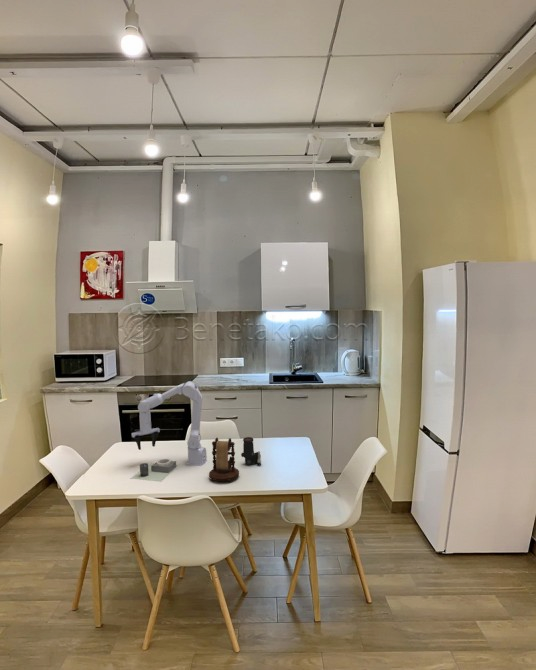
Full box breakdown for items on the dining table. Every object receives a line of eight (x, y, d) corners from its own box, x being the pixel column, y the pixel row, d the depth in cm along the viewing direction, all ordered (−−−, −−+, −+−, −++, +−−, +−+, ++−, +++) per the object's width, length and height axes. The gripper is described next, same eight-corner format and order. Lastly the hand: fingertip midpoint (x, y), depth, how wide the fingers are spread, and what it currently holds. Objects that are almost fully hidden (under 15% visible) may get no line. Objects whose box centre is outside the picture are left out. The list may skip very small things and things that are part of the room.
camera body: (176, 466, 218) (176, 459, 218) (169, 473, 210) (168, 465, 210) (159, 465, 221) (158, 457, 220) (151, 471, 213) (151, 463, 213)
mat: (179, 466, 220) (179, 465, 220) (161, 482, 201) (160, 481, 201) (151, 463, 224) (151, 463, 224) (130, 479, 205) (129, 478, 205)
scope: (260, 440, 217) (241, 441, 215) (261, 466, 218) (242, 467, 217) (258, 435, 225) (240, 436, 224) (259, 460, 226) (240, 461, 225)
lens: (150, 473, 210) (149, 463, 209) (145, 477, 206) (145, 466, 206) (143, 473, 211) (142, 462, 210) (138, 476, 207) (138, 465, 207)
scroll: (205, 483, 199) (203, 442, 197) (214, 470, 214) (213, 432, 212) (235, 484, 197) (233, 443, 195) (242, 472, 211) (241, 433, 209)
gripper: (155, 418, 228) (157, 442, 229) (129, 423, 220) (130, 448, 221) (160, 421, 223) (161, 446, 224) (133, 426, 214) (134, 452, 215)
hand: (146, 447), depth 222 cm, fingers open, 7 cm apart
